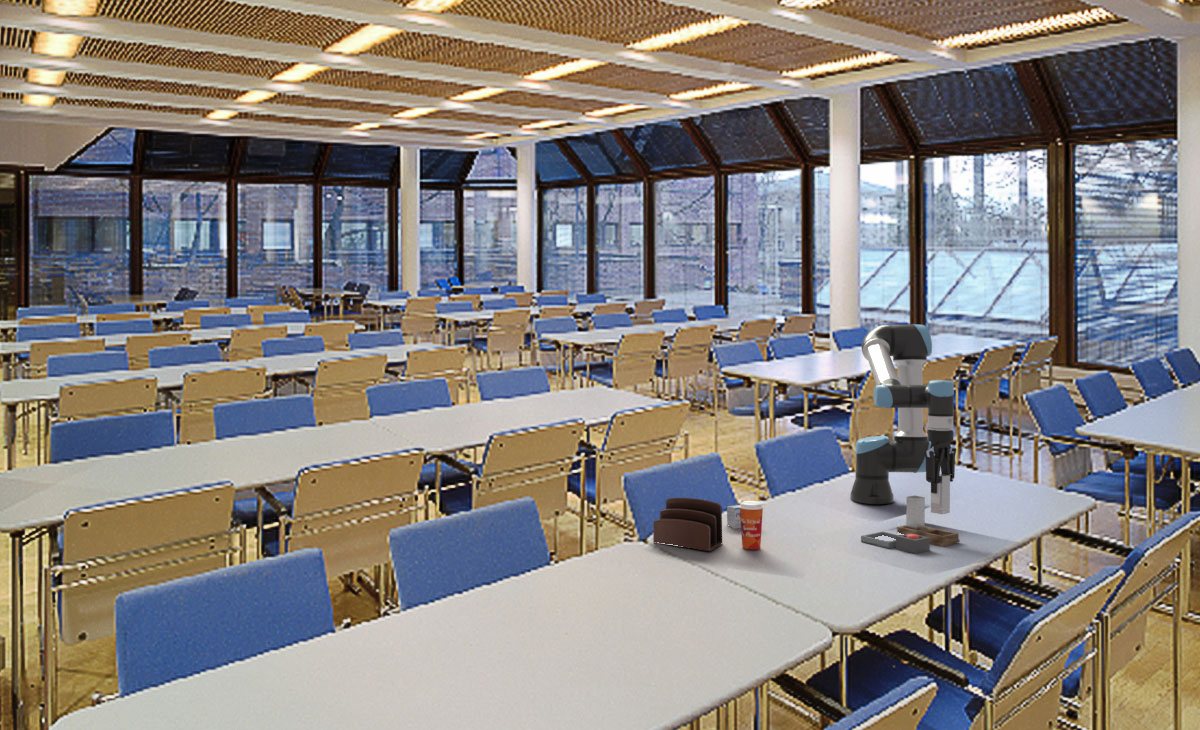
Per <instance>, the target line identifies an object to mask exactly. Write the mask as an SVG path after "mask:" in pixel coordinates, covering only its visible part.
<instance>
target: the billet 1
mask: <svg viewBox="0 0 1200 730" xmlns="http://www.w3.org/2000/svg"><path fill="white" fill-rule="evenodd" d="M925 499H926V498H925V497H924V496H920V495H919V496H918V495H910V496H906V516H905V517H906V524H905V525H906V528H909V529H913V530H922V529H925V526H926V525H925V519H926V517H925V515H926V514H925V513H926V509H925V508H926V505H925V504H926V500H925Z"/></svg>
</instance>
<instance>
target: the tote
mask: <svg viewBox="0 0 1200 730" xmlns="http://www.w3.org/2000/svg"><path fill="white" fill-rule="evenodd" d="M882 535H884V536H888V537H891V538H894V539H896V536H899V535H896V533H893V532H888V531H883V530H882V531H878V532H872V533H868V534H862V535H860V542H861V541H864V542H867V543H866V544H868V543H870V544H869V545H872V544H873V546H877V547H881V548H885V549H893V548H896V540H893V541H884V540H879V539H875V537H878V536H882ZM864 542H863V543H864Z"/></svg>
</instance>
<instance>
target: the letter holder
mask: <svg viewBox="0 0 1200 730" xmlns="http://www.w3.org/2000/svg"><path fill="white" fill-rule="evenodd" d="M722 514H723V509H722V505H721V504H720V503H718V502H716V501H715V502H714V501H711V500H706V499H699V498H691V497H668V498H666V500H665V508H663V509H661V510H660V511H659V518H658V519H655V520H653V535H652V536H653V537H652V538H653V540H652V541H653V543H654V542H659V543H665V544H673V545H678V546H683V547H689V548H688V549H690V548H693V549H692V550H697V549H699V551H706V552H711V551H713V550H715V549H717V548H718V547H717V546H719V545H720V544H721V543H722V544H723V515H722ZM720 546H721V545H720ZM720 546H719V547H720ZM716 547H717V548H716Z"/></svg>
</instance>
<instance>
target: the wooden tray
mask: <svg viewBox="0 0 1200 730" xmlns="http://www.w3.org/2000/svg"><path fill="white" fill-rule="evenodd" d="M896 531H897V532H899V533H901V534H909V533H912V534H916V535H921V536H925V537H930V545H932V544H933V546H938V547H942V548H943V547H947V546H951V545H955V544H954V543H956V544H958V543H957V542H961V541H960V539H959V537H960V536H959V533H957V532H953V531H948V530H945V529H940V528H934V527H930V526H926V525H925V529H922V530H913V529H909V528H906V524H905V525H900V526H897V527H896ZM897 532H896V533H897Z"/></svg>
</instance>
